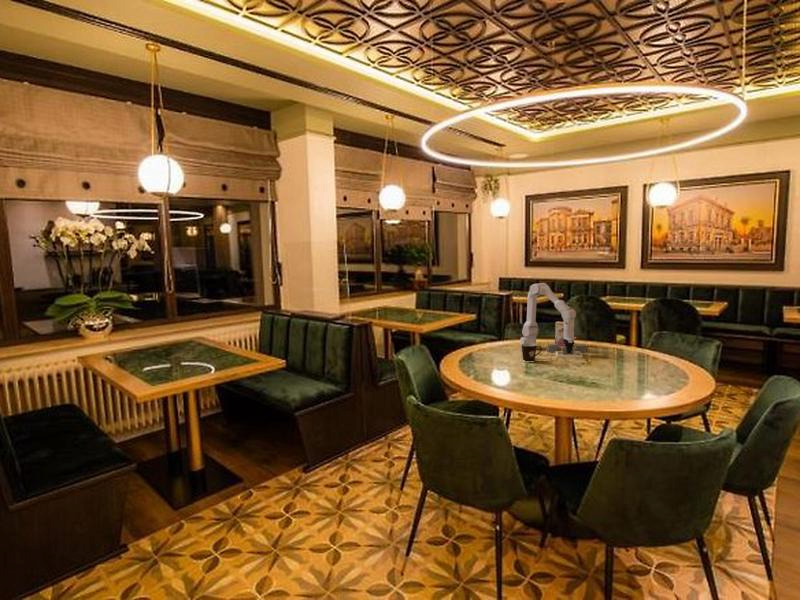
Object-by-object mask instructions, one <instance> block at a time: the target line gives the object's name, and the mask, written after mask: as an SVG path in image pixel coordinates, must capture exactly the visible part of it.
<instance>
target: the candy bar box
mask: <svg viewBox="0 0 800 600" xmlns="http://www.w3.org/2000/svg"><path fill="white" fill-rule="evenodd" d="M563 337H564V321H555V324H554V344H558V345H559V347H565V343H564V341H563V339H564V338H563ZM573 342H575V339H573ZM573 347H575V344H574V345H573Z"/></svg>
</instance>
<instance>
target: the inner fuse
mask: <svg viewBox="0 0 800 600" xmlns="http://www.w3.org/2000/svg"><path fill="white" fill-rule="evenodd" d="M559 347H560V346H559V345H558V344H555V343H547V351H548V353H547V354H556V351H559Z"/></svg>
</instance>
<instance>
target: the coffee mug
mask: <svg viewBox="0 0 800 600" xmlns="http://www.w3.org/2000/svg"><path fill="white" fill-rule="evenodd" d="M521 347H522V349H521V354H522V361H523V360H525V361H536V356H537V355H539V354H541V352H542V350H543V349H542V347H541V346H540V345H537V343H536V344H533V343H523V344H521ZM537 348H540V350H539V351H538V352H537Z"/></svg>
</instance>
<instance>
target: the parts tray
mask: <svg viewBox="0 0 800 600" xmlns="http://www.w3.org/2000/svg"><path fill="white" fill-rule="evenodd" d="M555 356H556V358H560V359H561V358H563V359H564V358H565V359H567V358H569V359H574V358H575V359H583V358H584V357H583V356H584V355H583V353H581V352H578V351H575V355H563V350H561V351H556V353H555Z"/></svg>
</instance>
